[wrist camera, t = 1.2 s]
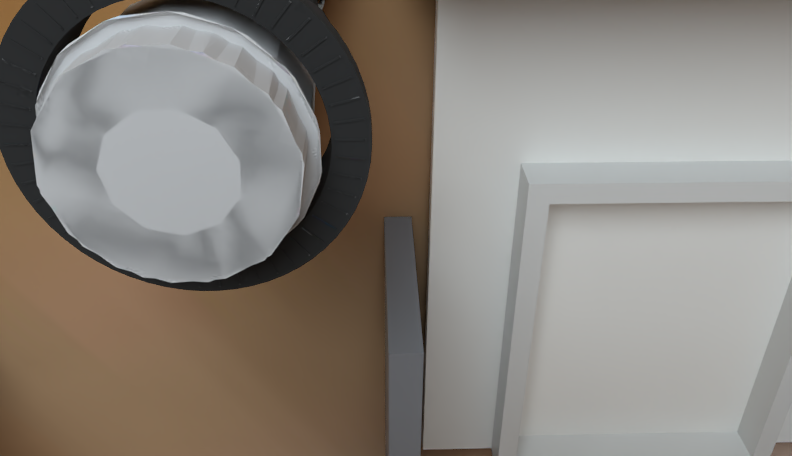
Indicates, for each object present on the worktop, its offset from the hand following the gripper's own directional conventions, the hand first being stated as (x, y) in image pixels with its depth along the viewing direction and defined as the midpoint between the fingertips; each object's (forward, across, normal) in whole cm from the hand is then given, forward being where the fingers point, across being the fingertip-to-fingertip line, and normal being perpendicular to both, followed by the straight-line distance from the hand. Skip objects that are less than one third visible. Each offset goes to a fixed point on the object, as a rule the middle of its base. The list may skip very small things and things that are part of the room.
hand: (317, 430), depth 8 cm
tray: (+13, -9, +3) cm, 16 cm away
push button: (+13, +3, 0) cm, 13 cm away
